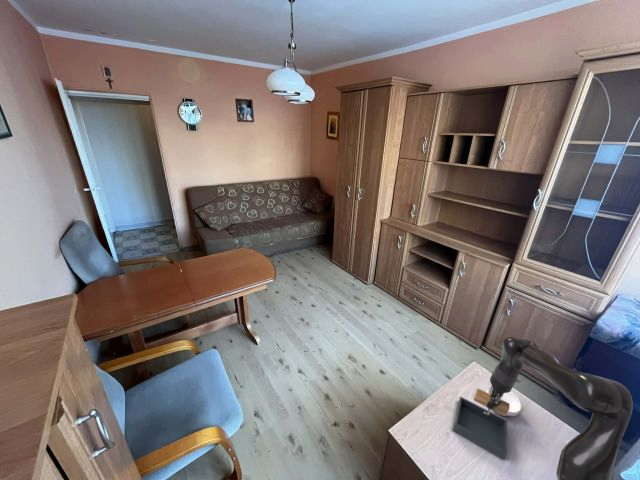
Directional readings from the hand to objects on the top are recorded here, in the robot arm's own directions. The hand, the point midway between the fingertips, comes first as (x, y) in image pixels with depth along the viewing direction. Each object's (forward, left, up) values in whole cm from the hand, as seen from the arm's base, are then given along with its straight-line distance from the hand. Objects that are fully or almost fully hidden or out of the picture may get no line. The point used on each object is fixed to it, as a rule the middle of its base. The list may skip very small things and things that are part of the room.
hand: (489, 404), depth 114 cm
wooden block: (-2, 0, -1) cm, 2 cm away
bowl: (+18, -9, -19) cm, 27 cm away
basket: (0, -1, -19) cm, 19 cm away
